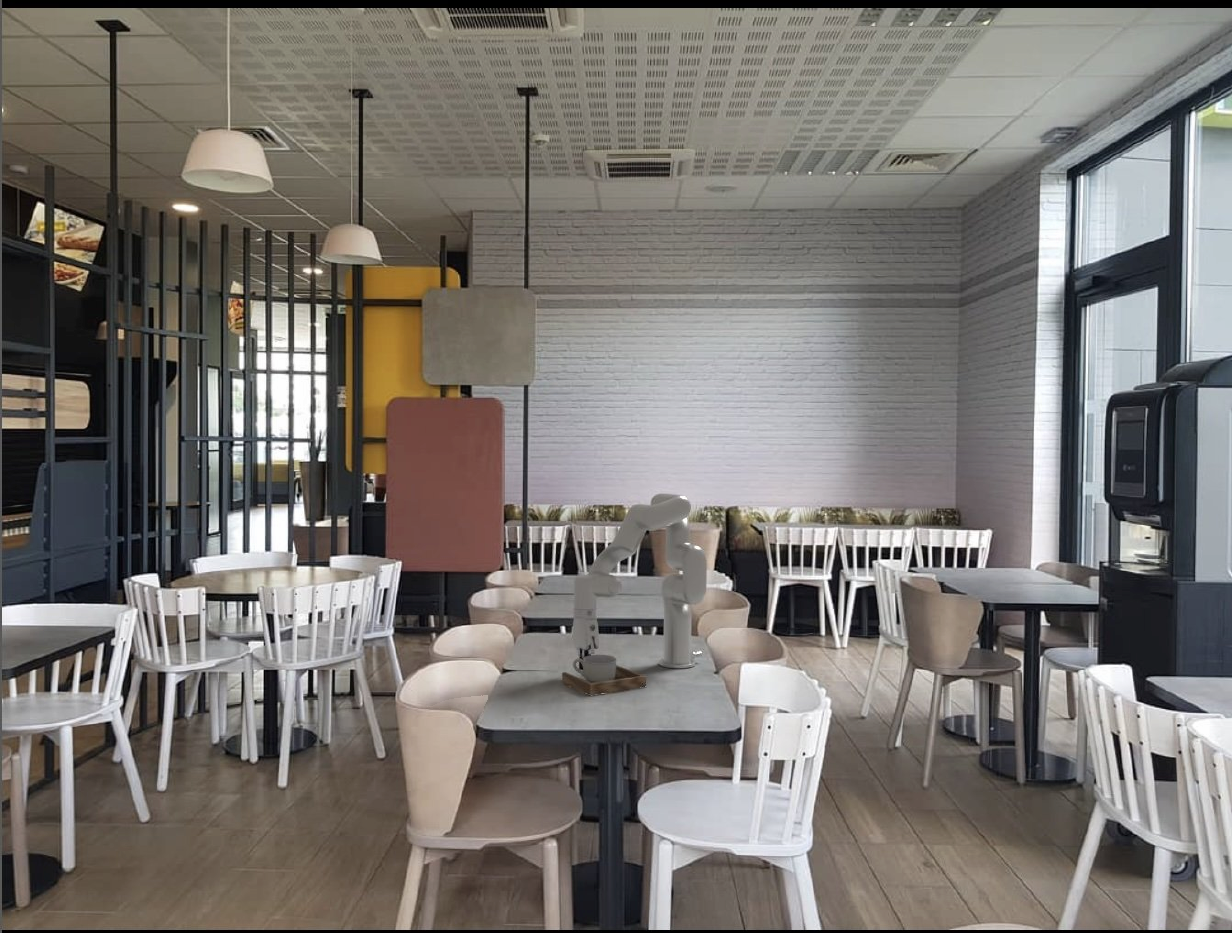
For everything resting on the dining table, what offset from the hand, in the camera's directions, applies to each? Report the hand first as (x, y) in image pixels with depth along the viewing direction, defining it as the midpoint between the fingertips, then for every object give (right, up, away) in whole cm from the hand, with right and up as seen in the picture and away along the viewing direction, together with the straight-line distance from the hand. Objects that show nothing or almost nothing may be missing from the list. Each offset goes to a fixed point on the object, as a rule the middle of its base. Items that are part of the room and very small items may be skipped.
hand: (584, 669), depth 319 cm
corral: (+6, -3, -9) cm, 12 cm away
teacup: (+4, -3, -6) cm, 8 cm away
